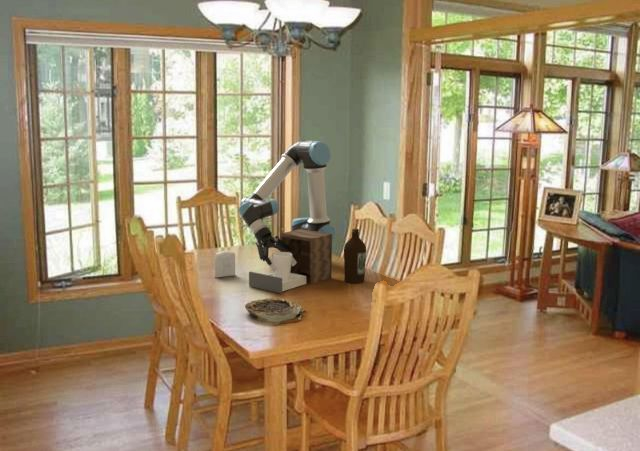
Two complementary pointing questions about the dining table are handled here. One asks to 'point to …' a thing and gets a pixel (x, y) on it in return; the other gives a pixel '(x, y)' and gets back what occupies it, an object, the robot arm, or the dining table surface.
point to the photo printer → (224, 264)
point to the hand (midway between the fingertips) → (285, 267)
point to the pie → (273, 310)
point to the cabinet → (310, 253)
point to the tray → (275, 281)
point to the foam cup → (282, 265)
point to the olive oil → (354, 259)
